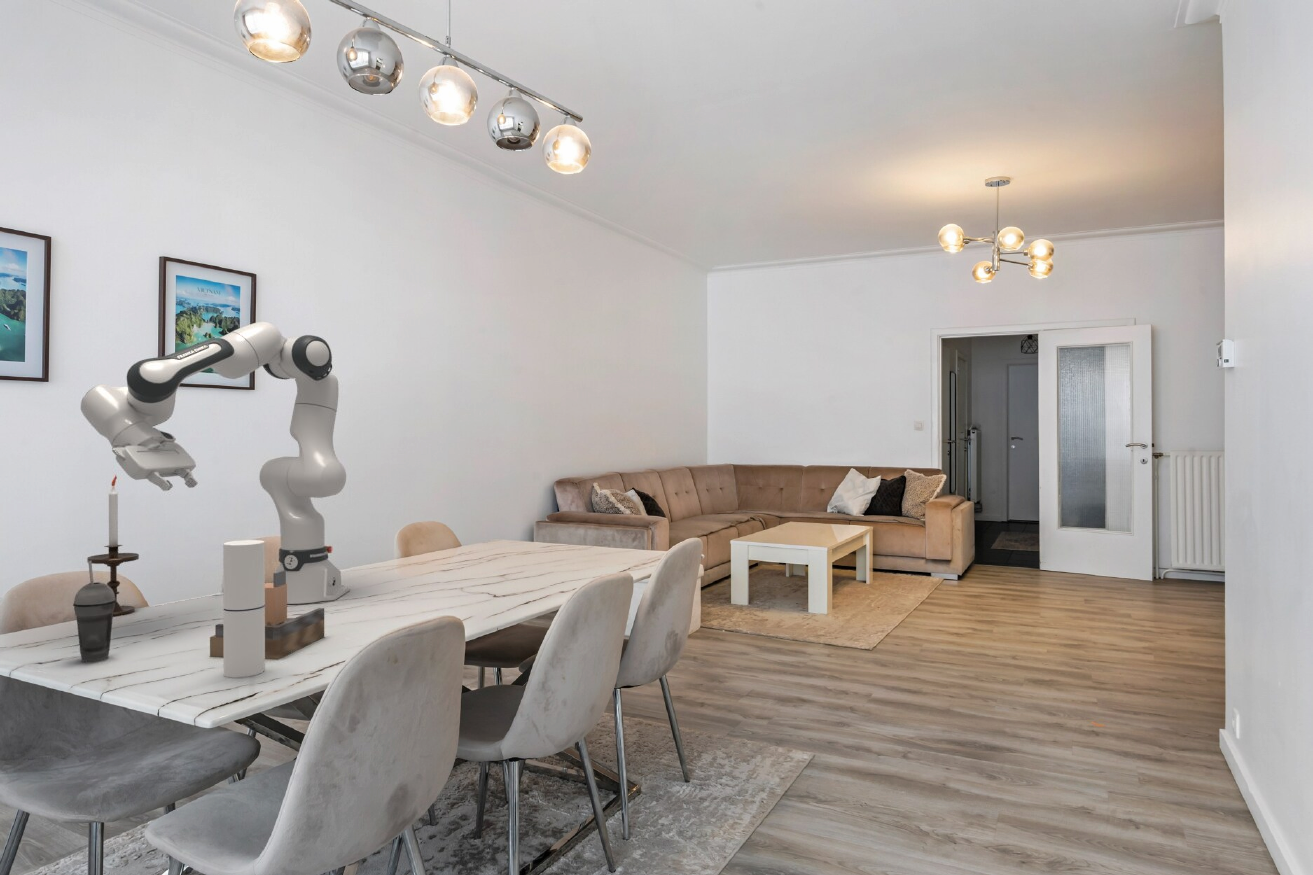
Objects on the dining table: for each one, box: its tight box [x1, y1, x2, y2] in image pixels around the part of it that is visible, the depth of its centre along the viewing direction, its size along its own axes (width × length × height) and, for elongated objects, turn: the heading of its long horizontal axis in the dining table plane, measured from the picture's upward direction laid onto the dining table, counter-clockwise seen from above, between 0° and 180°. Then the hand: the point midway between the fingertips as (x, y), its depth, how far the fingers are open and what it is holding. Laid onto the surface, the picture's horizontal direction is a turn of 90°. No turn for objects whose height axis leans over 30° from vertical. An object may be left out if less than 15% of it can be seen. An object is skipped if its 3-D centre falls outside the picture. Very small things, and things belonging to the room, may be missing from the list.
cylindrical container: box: [222, 539, 266, 679], centre depth 158 cm, size 7×7×25 cm
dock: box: [209, 607, 325, 660], centre depth 177 cm, size 18×15×6 cm
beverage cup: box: [72, 561, 116, 663], centre depth 166 cm, size 7×7×20 cm
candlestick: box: [86, 474, 140, 617], centre depth 207 cm, size 11×11×35 cm
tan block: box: [265, 570, 288, 626], centre depth 176 cm, size 5×5×12 cm
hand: (181, 487), depth 187 cm, fingers open, 8 cm apart
